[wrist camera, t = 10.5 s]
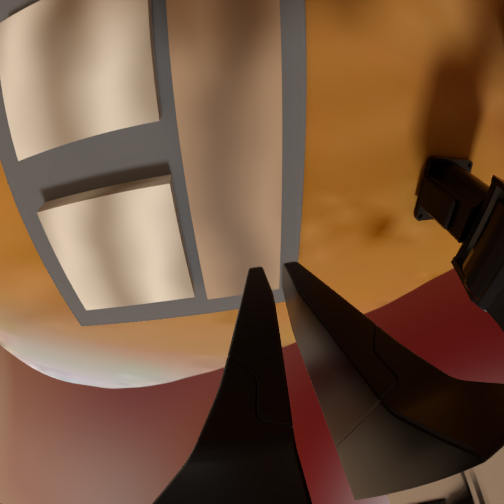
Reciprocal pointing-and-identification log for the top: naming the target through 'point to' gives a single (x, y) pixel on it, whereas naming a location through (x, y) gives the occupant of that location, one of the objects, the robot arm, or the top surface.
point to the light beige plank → (77, 71)
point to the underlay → (156, 170)
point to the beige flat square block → (121, 243)
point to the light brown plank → (230, 134)
